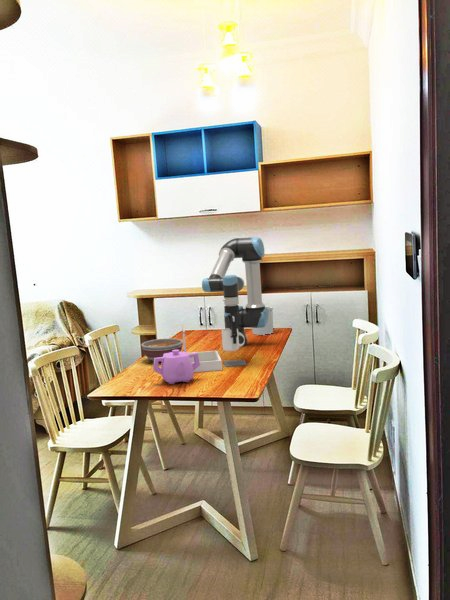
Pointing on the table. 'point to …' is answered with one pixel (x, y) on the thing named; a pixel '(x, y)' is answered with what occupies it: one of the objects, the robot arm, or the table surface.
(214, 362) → the cold frame
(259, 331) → the utensil holder
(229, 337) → the mug
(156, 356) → the bowl
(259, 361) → the table surface
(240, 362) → the slate mat
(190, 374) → the purple rounded pot
